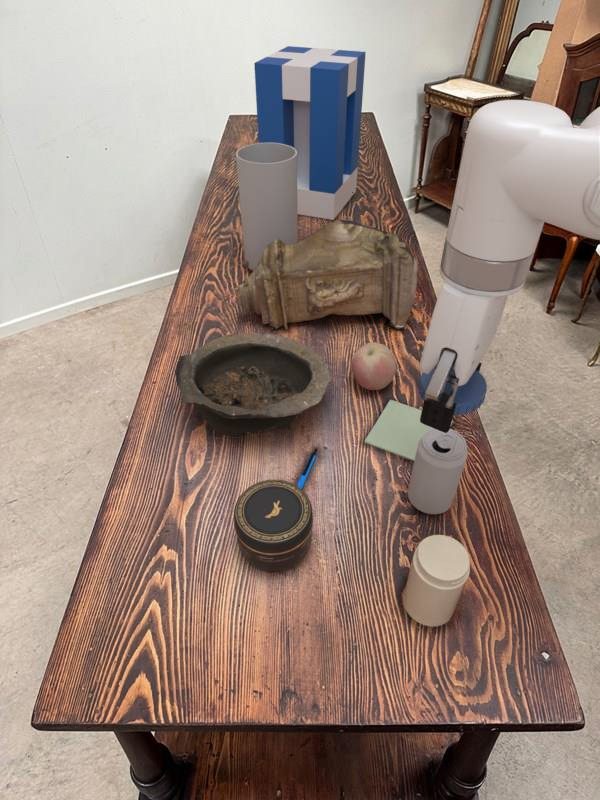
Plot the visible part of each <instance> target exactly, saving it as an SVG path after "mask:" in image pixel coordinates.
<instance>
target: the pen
mask: <svg viewBox="0 0 600 800" xmlns="http://www.w3.org/2000/svg"><path fill="white" fill-rule="evenodd" d="M317 451H318V448H314V450H313V452H311V453H310V456H309V458H308V460H307V462H306V464H305V467H304V469H303V471H302V473H301V476H300V477H299V480H298V481H297V484H296V486H298V487H299V488H301V489H302V490H303V487H304V485H305V482H306V481H307V478H308V476H309V475H310V474H309V473H310V471H311V469H312V467H313V465H314V463H315V461H316V458H317Z"/></svg>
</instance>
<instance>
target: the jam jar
mask: <svg viewBox="0 0 600 800" xmlns="http://www.w3.org/2000/svg"><path fill="white" fill-rule="evenodd" d="M470 573H471V560H470V556H469V553H468V551H467V549H466V548H465V546H464V545H463V544H462V543H461V542H459V540H457V539H455V538H453V537H452V536H449V535H445V534H432V535H430V536H427V537H425V538H423V539H422V540H421V541H420V542H419V543H418V546H417V548H416V549H415V550H414V553H413V556H412V560H411V563H410V567H409V571H408V575H407V578H406V583H405V586H404V590H403V594H402V603H403V606H404V610H405V611H406V612H407V614H408V615H409V617H410V618H412V619H413V620H414V621H415V622H416V623H419V624H420V625H422V626H426V627H431V628H432V627H440V626H443V625H445V624H447V623H448V622H449V621H450V620H451V619H452V617H453V615H454V613H455V610H456V608H457V606H458V603H459V601H460V598H461V596H462V593H463V591H464V588H465V586H466V584H467V581H468V579H469V576H470Z"/></svg>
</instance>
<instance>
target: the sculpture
mask: <svg viewBox="0 0 600 800" xmlns="http://www.w3.org/2000/svg"><path fill="white" fill-rule="evenodd" d="M241 264H242V266H243V267H244V268H245V269H249V268H248V267H249V262H248V261H247V260H245V259H243V260H242V262H241ZM418 267H419V266H418V262H417V259H416V257H415V256H414V254H413V253H412V251H411V250H410V248H409V247H408V244H407V243H406V242H405V241H404V240H403V239H402V237H401V236H400V234H398V233H395V232H387V231H385V230H381V229H378V228H375V227H372V226H368V225H365V224H362V223H360V222H357V221H354V220H347V219H337V220H335V221H333V222H331V223H329V224H326V225H325V226H323V227H321V228H320V229H318V230H316V231H315V232H313V233H311V234H310V235H308V236H307V237H304V238H303V239H300V240H299V241H298V242H297V243H294V244H291V245H286V246H285V243H284V242H283V241H281V240H280V239H276V240H274V241H273V242H272V243H271V244H269V245H268V246H267V247H266V248H265V250H264V252H263V254H262V256H261V260H260V261H259V263H258V265H257V267H256V268H255V269H254V271H252V272H251V273H250V274H249V275H248V277H247V278H245V279H244V280H242V281H241V282H240V283H239V284H238V285H237V286H236V287H235V291H236V296H237V302H238V305H239V307H241V308H243V309H245V310H247V311H248V312H249V313H254V312H255V314H256V315H258V316H261V319H262V320H261V322H262V324H264V325H267V324H268V325H269V326H270V327H271V329H272V330H273V329H274V328H275V329H276V330H278V329H280V328H281V327H282V326H283V328H284V330H286V331H287V330H288V329H289V327H288V324H290V323H291V324H294V323H302V322H305V321H312V320H318V319H323V318H324V317H327V316H330V315H338V316H366V315H372V314H375V315H376V314H383V316H384V317H386V318H387V319H388V320H390V322H389V326H390V327H392V328H394V329H395V330H401V329H403V328H404V327H405V326H406V324H407V322H408V320H409V318H410V315H411V311H412V309H413V304H414V300H415V297H416V291H417V286H418V285H417V283H418V271H419V269H418Z"/></svg>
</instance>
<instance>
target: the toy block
mask: <svg viewBox="0 0 600 800" xmlns="http://www.w3.org/2000/svg"><path fill="white" fill-rule="evenodd" d="M366 54H367V53H366V51H359V50H347V49H346V50H345V49H332V48H331V49H330V48H318V47H304V46H291V45H287V46H285V47H284V48H281V49H279V50H277V51H276V52H274V53H271V54H269V55H267V56H265V57H263V58H262V59H259V60H257V61H256V62H254V64H253V65H254V81H255V99H256V100H255V101H256V119H257V137H258V138H257V141H258V143H280V144H285V145H289V146H291V147H293V148H295V149H296V151H297V215H300V216H301V215H302V216H307V217H313V218H318V219H325V220H332V221H334V220H335V219H336V217H337V216H338V215H339V214H340V212H342V210H343V209H344V207H345V206H346V205H347V203H348V202H349V201H350V200H351V198H352V197H353V196H354V194H355V193H356V192H357V183H358V173H359V171H358V170H359V155H360V140H361V125H362V111H363V99H364V98H363V95H364V83H365V81H364V80H365V66H366ZM355 188H356V189H355ZM352 192H353V193H352Z"/></svg>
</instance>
